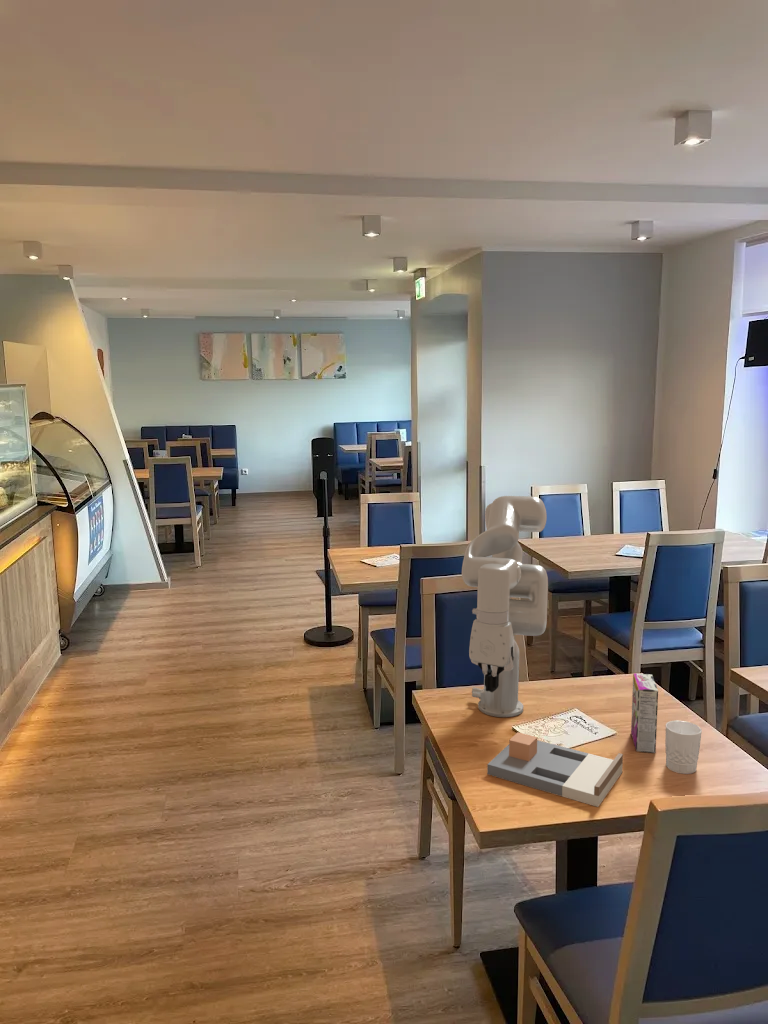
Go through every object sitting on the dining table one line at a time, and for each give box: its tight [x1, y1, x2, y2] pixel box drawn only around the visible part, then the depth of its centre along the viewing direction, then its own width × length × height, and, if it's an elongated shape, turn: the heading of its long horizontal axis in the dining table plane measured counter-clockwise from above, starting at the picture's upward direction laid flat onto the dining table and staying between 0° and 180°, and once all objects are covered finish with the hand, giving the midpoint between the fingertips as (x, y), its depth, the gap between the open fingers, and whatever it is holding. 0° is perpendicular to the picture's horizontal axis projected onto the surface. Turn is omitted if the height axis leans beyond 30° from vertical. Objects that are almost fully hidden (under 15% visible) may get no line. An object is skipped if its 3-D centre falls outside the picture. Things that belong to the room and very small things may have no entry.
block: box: [508, 731, 538, 761], centre depth 179 cm, size 5×5×4 cm
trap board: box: [486, 739, 624, 808], centre depth 175 cm, size 26×18×4 cm
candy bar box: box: [630, 672, 659, 754], centre depth 189 cm, size 11×5×16 cm, turn 168°
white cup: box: [664, 719, 702, 775], centre depth 177 cm, size 8×8×10 cm
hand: (491, 689), depth 181 cm, fingers closed
